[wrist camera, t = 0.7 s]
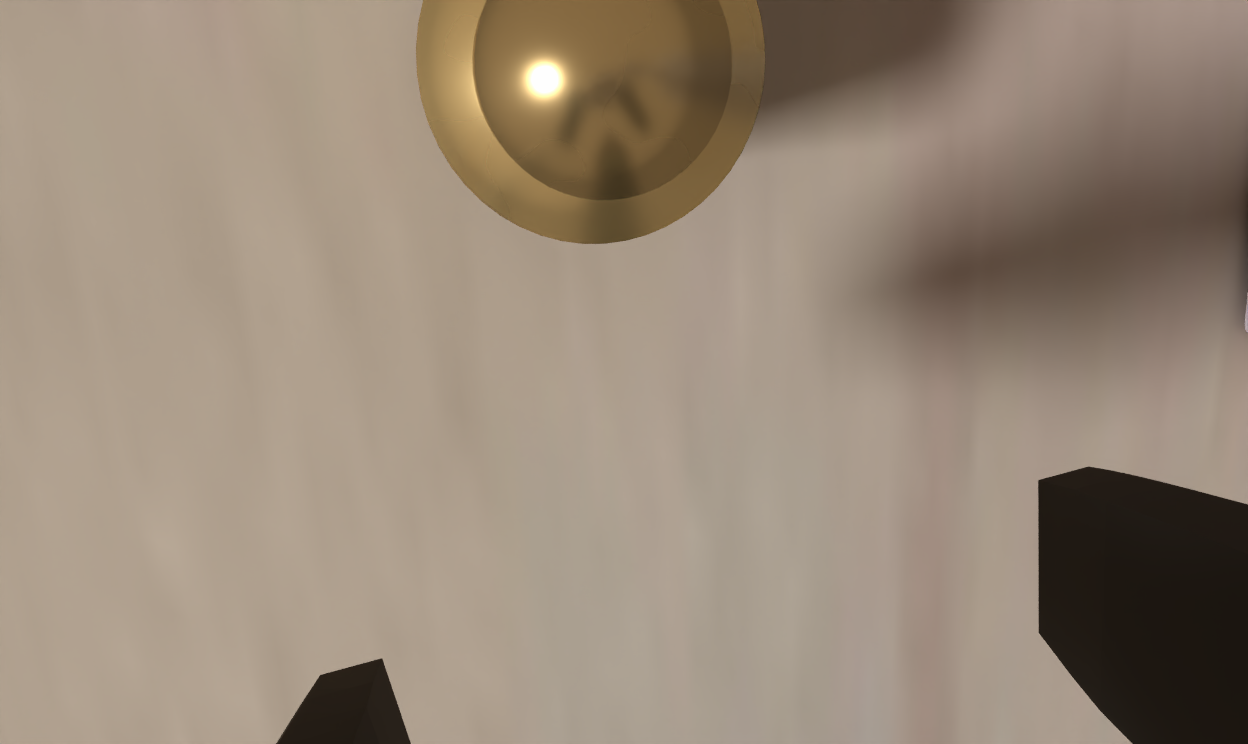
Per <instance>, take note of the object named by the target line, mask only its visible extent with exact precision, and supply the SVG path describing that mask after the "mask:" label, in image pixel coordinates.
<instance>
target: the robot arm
mask: <svg viewBox="0 0 1248 744" xmlns="http://www.w3.org/2000/svg"><path fill="white" fill-rule="evenodd" d="M1245 330H1246V331H1247V333H1248V294H1247V304H1246V314H1245ZM1038 495H1039V634H1040V635H1041V636H1042V637H1043V639H1044V640H1045V641H1046V643H1047V644H1048V645H1049V647H1050V648H1051V649H1052V651H1053V652H1054V653H1055V655H1056V656H1057V657H1058V659H1059V660H1060V661H1061V663H1062V664H1063V665H1064V666H1065V668H1066V669H1067V670H1068V672H1069V673H1070V674H1071V676H1072V677H1073V678H1074V679H1075V681H1076V682H1077V683H1078V684H1079V685H1080V687H1081V688H1082V689H1083V690H1084V692H1085V693H1086V694H1087V695H1088V696H1089V698H1090V699H1091V700H1092V701H1093V703H1094V704H1095V705H1096V706H1097V707H1098V709H1099V710H1100V711H1101V712H1102V713H1103V714H1104V715H1105V716H1106V717H1107V718H1108V719H1109V720H1110V721H1111V722H1112V723H1113V724H1114V725H1115V726H1116V727H1117V728H1118V729H1119V730H1120V731H1121V732H1122V733H1123V734H1124V735H1125V736H1126V737H1127V738H1128V739H1129V740H1130V741H1131V742H1132V743H1133V744H1248V505H1247V504H1244V503H1240V502H1236V501H1232V500H1229V499H1225V498H1221V497H1217V496H1213V495H1210V494H1206V493H1202V492H1198V491H1195V490H1191V489H1187V488H1183V487H1179V486H1175V485H1171V484H1167V483H1163V482H1159V481H1155V480H1151V479H1147V478H1143V477H1138V476H1134V475H1130V474H1125V473H1120V472H1116V471H1111V470H1105V469H1099V468H1094V467H1085V468H1082V469H1078V470H1074V471H1071V472H1067V473H1063V474H1060V475H1056V476H1052V477H1049V478H1045V479H1041V480H1038ZM276 744H411V743H410V740H409V737H408V734H407V731H406V728H405V725H404V722H403V719H402V716H401V713H400V710H399V707H398V704H397V701H396V698H395V695H394V692H393V690H392V687H391V684H390V681H389V678H388V675H387V672H386V669H385V666H384V663H383V660H382V659H378V660H374V661H371V662H367V663H363V664H360V665H356V666H352V667H349V668H345V669H341V670H337V671H334V672H330V673H326V674H323V675H320V676H319V678H318V679H317V681H316V683H315V684H314V686H313V687H312V689H311V690H310V692H309V693H308V695H307V696H306V698H305V699H304V701H303V702H302V704H301V705H300V707H299V708H298V710H297V712H296V713H295V715H294V716H293V718H292V719H291V721H290V723H289V724H288V726H287V727H286V729H285V731H284V732H283V734H282V735H281V737H280V739H279V740H278V742H277V743H276Z"/></svg>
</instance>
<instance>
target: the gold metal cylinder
mask: <svg viewBox="0 0 1248 744" xmlns="http://www.w3.org/2000/svg"><path fill="white" fill-rule="evenodd" d="M416 58H417V76H418V82H419V88H420V94H421V100H422V103H423V107H424V110H425V113H426V117H427V120H428V123H429V126H430V128H431V130H432V132H433V135H434V137H435V139H436V141H437V144H438V146H439V148H440V149H441V151H442V153H443V154H444V156H445V158H446V159H447V161H448V163H449V164H450V166H451V167H452V169H453V170H454V171H455V172H456V174H457V175H458V176H459V178H460V179H461V180H462V181H463V183H464V184H465V185H466V186H467V187H468V188H469V189H470V190H471V191H472V192H473V193H474V194H475V195H476V196H477V197H478V198H479V199H480V200H481V201H482V202H483V203H485V204H486V205H487V206H489V207H490V208H491V209H492V210H494V211H495V212H496V213H498V214H499V215H500V216H502V217H504V218H506V219H507V220H509V221H511V222H512V223H514V224H516V225H518V226H519V227H522V228H524V229H527V230H529V231H531V232H534V233H536V234H539V235H541V236H545V237H549V238H553V239H556V240H560V241H566V242H574V243H582V244H605V243H612V242H619V241H626V240H630V239H633V238H637V237H641V236H644V235H647V234H650V233H652V232H654V231H657V230H659V229H662V228H664V227H666V226H668V225H670V224H671V223H673V222H675V221H677V220H678V219H680V218H682V217H683V216H685V215H686V214H688V213H689V212H690V211H691V210H693V209H694V208H695V207H697V206H698V205H699V204H701V203H702V202H703V201H704V200H705V199H706V198H707V197H708V196H709V195H710V194H711V193H712V192H713V191H714V190H715V189H716V188H717V187H718V186H719V184H720V183H721V182H722V181H723V179H724V178H725V177H726V176H727V174H728V173H729V172H730V171H731V169H732V167H733V166H734V164H735V162H736V161H737V159H738V158H739V156H740V154H741V153H742V151H743V149H744V147H745V144H746V142H747V140H748V138H749V136H750V134H751V131H752V128H753V125H754V122H755V119H756V116H757V113H758V110H759V105H760V100H761V95H762V90H763V84H764V71H765V45H764V34H763V28H762V22H761V15H760V12H759V8H758V5H757V1H756V0H423V4H422V9H421V13H420V18H419V23H418V33H417V45H416Z"/></svg>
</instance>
